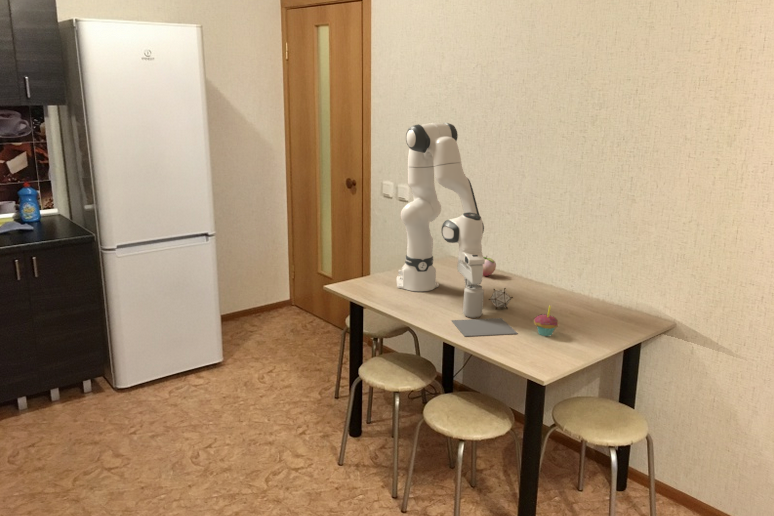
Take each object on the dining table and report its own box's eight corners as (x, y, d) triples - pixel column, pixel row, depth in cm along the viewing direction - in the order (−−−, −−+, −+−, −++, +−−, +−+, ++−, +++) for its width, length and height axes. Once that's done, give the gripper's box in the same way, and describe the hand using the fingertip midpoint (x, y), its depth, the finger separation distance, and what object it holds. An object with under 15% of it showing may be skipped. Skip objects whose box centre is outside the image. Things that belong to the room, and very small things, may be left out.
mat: (451, 321, 247) (451, 320, 247) (501, 318, 251) (501, 317, 251) (464, 336, 232) (464, 336, 232) (517, 334, 236) (517, 333, 236)
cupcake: (561, 337, 234) (564, 305, 231) (540, 339, 232) (543, 307, 229) (549, 328, 242) (552, 297, 239) (528, 330, 240) (531, 299, 237)
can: (468, 310, 259) (470, 281, 256) (485, 315, 254) (487, 285, 251) (459, 315, 253) (460, 286, 250) (476, 320, 249) (478, 290, 245)
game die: (503, 318, 263) (512, 304, 255) (483, 309, 263) (492, 294, 256) (508, 302, 268) (517, 288, 261) (489, 293, 269) (498, 279, 261)
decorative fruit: (499, 276, 307) (500, 255, 304) (489, 279, 301) (491, 258, 298) (482, 272, 313) (483, 252, 310) (472, 275, 307) (473, 255, 304)
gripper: (454, 248, 263) (452, 281, 267) (470, 261, 244) (468, 297, 248) (469, 248, 265) (467, 281, 268) (486, 261, 245) (484, 296, 249)
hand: (468, 288), depth 258 cm, fingers closed
